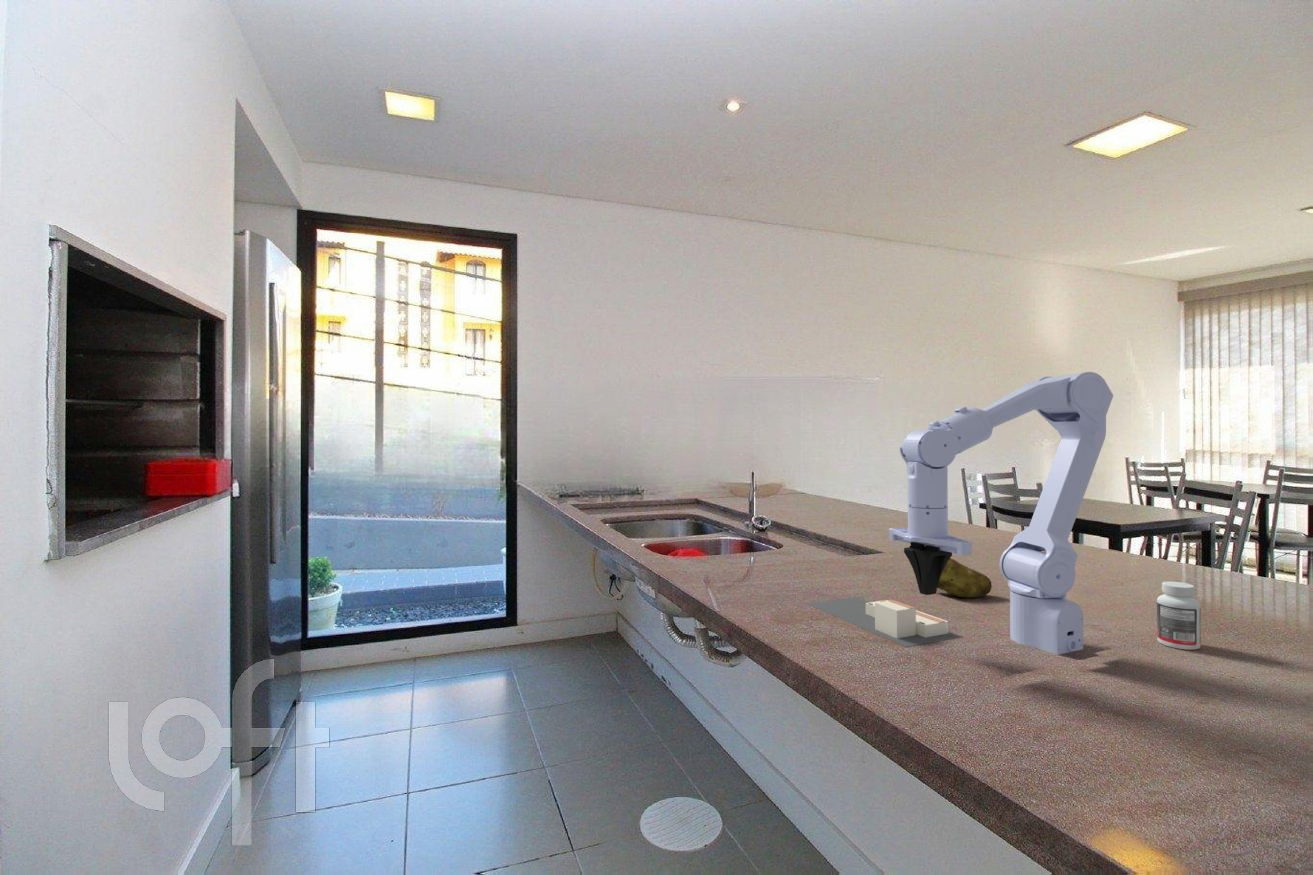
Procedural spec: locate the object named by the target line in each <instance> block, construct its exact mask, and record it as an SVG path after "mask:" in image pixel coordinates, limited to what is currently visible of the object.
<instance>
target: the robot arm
mask: <svg viewBox="0 0 1313 875" xmlns="http://www.w3.org/2000/svg"><path fill="white" fill-rule="evenodd" d="M1113 398H1114V394H1113V392H1112V390H1111V389H1110V388H1109V385H1108V383H1107V382H1106V380H1105V379H1104V378H1103V376H1102V375H1100V374H1099V373H1096V372H1093V371H1084V372H1081V373H1076V374H1065V375H1060V376H1059V375H1057V376H1043V377H1040V378H1039V379H1037V380H1034V381H1031V382H1028V383H1026V384H1024V385H1023V386H1022V387H1019V388H1017V389H1016V390H1015V391H1013V392H1011V393H1009V394H1007V395H1005V396H1003V397H1002V398H1000V399H997V400H995V402H993V403H991V404H989V405H987V406H986V407H984V408H982V409H980V408H978V407H975V406H969V407H967V406H959V407H957V408H956V409H954V414H952V415H951V416H948V417H946V418H944V419H942V420H940V421H938V420H933V421H931V422H930V423H929V424H928V425H929V426H928V428H927V429H918V430H913V431H911V432H909V434H907V435H906V438H904V439H903V442H902V446H900V447H899V453H900V456H901V458H902V459H903V461H904V462H905V464H906V473H907V528H903V527H891V528H888V540H889V541H893V542H894V541H895V542H896V541H897V542H902V543H906V544H910V545H909V546H908V547H904V548H903V553H904V554H905V556H906V558H907V559H908V562H909V563H910V565H911V568H912V571H913V573H914V576H915V579H916V584H917V586H918V591H919V593H920V594H922V595H925V596H931V595H936V594H937V590H938V588H937V587H938V583H939V580H940V577H941V574H942V572H943V569H944V567H945V565H946V564H947V562H948V560H949V559H950V558H951V557H952V556H953V554H956V555H957V556H959V557H965V556H972V552H973V551H972V550H973V548H972V547H973V545H972V543H973V542H972V541H969V540H965V539H961V538H958V537H955V536H953V535H949V521H948V520H949V514H948V513H949V511H948V510H949V509H948V508H949V505H948V491H949V490H948V489H949V488H948V478H949V476H948V472H949V470H948V466H950V465H951V464H952V463H953V462H954V460H955V459H956V455H959V454H961V453H963V452H965V451H967V450H969V449H970V448H974V446H977V445H979V444H981V443H983V442H985V441H987V440H989V439H990V438H991V437H992V434H993V429H994V428H995V427H998V426H1000V425H1002V424H1005V423H1007V422H1010V421H1011V420H1015V419H1016V418H1018V417H1020V416H1022V415H1025V414H1028V413H1030V412H1032V411H1036V412H1037V413H1038V414H1039V415H1040V416H1041V417H1042V418H1043V419H1044V420H1045V421H1047V422H1048V424H1049V425H1050V426H1052V427H1053V429H1055V430H1056V431H1057V432H1058V434H1059V436H1060V439H1061V440H1060V442H1059V445H1058V447H1057V450H1056V453H1055V455H1054V458H1053V461H1052V463H1051V466H1050V468H1049V472H1048V474H1047V477H1046V480H1045V482H1044V484H1043V487H1042V491H1041V493H1040V496H1039V499H1038V500H1037V504H1036V506H1035V510H1034V512H1033V515H1032V517H1031V520H1030V523H1029V526H1028V527H1027V528H1025V529H1023V530H1022V531H1020V532H1018V533H1017V534H1015V535H1014V536H1013V539H1012V541H1011V544H1010V545H1009V546H1008V547H1007V548H1006V549H1004V550H1003V553H1002V554H1001V556H1000V559H999V571H1000V574H1002V576H1003V577H1004V579H1006V580H1007V587H1009V589H1010V590H1009V634H1010V635H1009V638H1010V639H1011V640H1012V641H1013V642H1014V643H1018V644H1020V645H1023V646H1028V647H1030V648H1031V647H1032V648H1033V649H1039V650H1042V651H1045V652H1048V653H1050V654H1052V655H1053V654H1054V655H1055V656H1059V655H1064V654H1068V653H1069V654H1070V653H1074V652H1078V651H1081V650H1084V613H1083V610H1082V608H1081V605H1079V604H1078V603H1077V602H1074V601H1071V600H1069V599H1068V598H1067V594H1068V592H1070V591H1071V589H1072V588H1073V586H1074V585H1075V581H1076V564H1077V559H1078V557H1079V556H1078V555H1079V554H1078V553H1077V551H1076V550H1075V549H1074V547H1073V546H1072V544H1071V542H1070V541H1069V538H1070V535H1071V533H1072V529H1073V528H1074V524H1075V522H1076V519H1077V516H1078V514H1079V510H1080V508H1081V504H1082V502H1083V499H1084V498H1085V497H1084V496H1085V494H1086V491H1087V488H1088V486H1089V483H1090V480H1091V477H1092V475H1093V472H1094V469H1095V466H1096V464H1097V462H1098V459H1099V456H1100V453H1101V450H1102V448H1103V445H1104V442H1105V440H1106V436H1107V414H1108V412H1109V409H1110V406H1111V404H1112V400H1113Z"/></svg>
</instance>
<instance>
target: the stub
mask: <svg viewBox="0 0 1313 875" xmlns="http://www.w3.org/2000/svg"><path fill="white" fill-rule="evenodd" d="M887 600H888V599H887ZM916 610H917V609H916V607H915V606H912V605H909V604H905V603H904V602H900V601H897V600H894V599H889V600H888V601H884V602H877V603H875V629H876V630H878V631H880V632H883V633H885V634H888V635H890V636H892V637H895V638H902V637H908V636H914V635H916Z"/></svg>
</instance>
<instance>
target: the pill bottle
mask: <svg viewBox="0 0 1313 875" xmlns="http://www.w3.org/2000/svg"><path fill="white" fill-rule="evenodd" d="M1195 590H1196V589H1195V586H1194V585H1193V584H1190V583H1187V582H1181V581H1179V582H1178V581H1167V580H1166V581H1163V582H1161V591H1162V592H1163V594H1161V595H1159V596H1158V597H1157V599H1156V639H1157V641H1158V643H1160V644H1161V645H1164V646H1167V647H1169V648H1172V649H1173V648H1174V649H1178V650H1179V649H1180V650H1187V651H1189V650H1190V651H1192V650H1193V651H1194V650H1199V649H1200V648H1201V642H1202V641H1201V638H1202V637H1201V631H1202V630H1201V612H1202V611H1201V610H1202V609H1201V603H1200V601H1199V600H1197V599H1196V598H1194V596H1195V594H1196V591H1195Z"/></svg>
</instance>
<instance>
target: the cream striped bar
mask: <svg viewBox="0 0 1313 875" xmlns="http://www.w3.org/2000/svg"><path fill="white" fill-rule="evenodd" d="M884 601H888V599H881V600H880V599H879V600H877V601H868V602H869V603H866V614H867V615H870V616H872V617H875V603H877V602H884ZM948 631H949V621H948V620H945V619H943V618H940V617H936V616H934V615H931V614H928V613H925V612H922V611H919V610H917V609H916V634H918V635H920V636H923V637H925V638H926V637H931V636H937V635H942V634H948Z"/></svg>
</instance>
